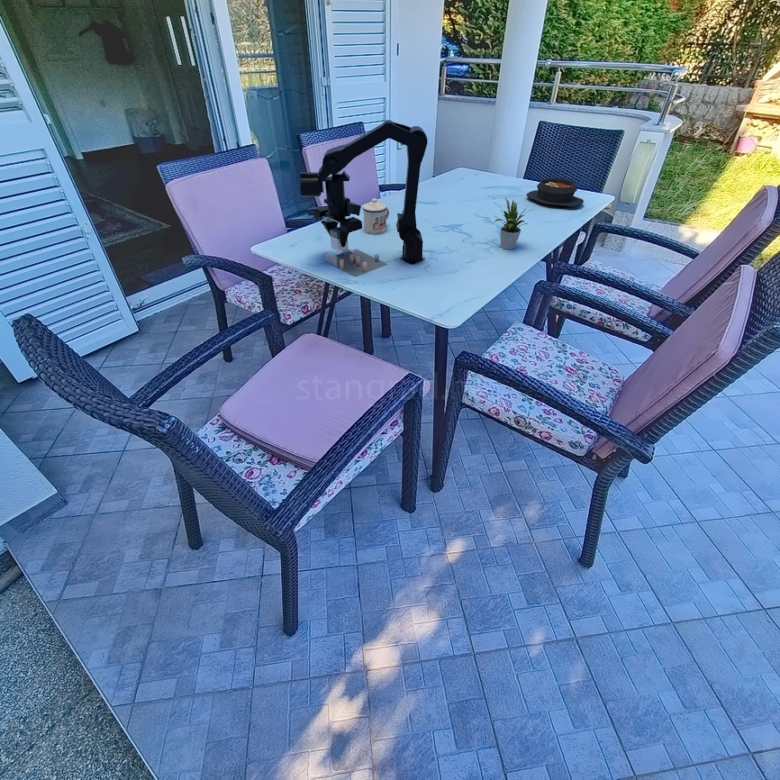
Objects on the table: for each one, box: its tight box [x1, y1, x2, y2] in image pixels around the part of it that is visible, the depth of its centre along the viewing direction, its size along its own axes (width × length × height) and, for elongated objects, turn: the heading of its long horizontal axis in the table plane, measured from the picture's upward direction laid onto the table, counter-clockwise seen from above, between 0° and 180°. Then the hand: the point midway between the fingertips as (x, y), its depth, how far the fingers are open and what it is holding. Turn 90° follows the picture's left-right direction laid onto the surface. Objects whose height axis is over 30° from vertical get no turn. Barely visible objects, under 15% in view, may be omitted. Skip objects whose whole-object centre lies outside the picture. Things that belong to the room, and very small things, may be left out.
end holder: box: [324, 247, 355, 268], centre depth 150 cm, size 7×8×3 cm
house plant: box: [493, 197, 534, 250], centre depth 157 cm, size 14×14×16 cm
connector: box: [329, 226, 349, 252], centre depth 146 cm, size 4×4×6 cm
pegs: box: [339, 254, 380, 273], centre depth 147 cm, size 9×14×3 cm, turn 132°
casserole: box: [526, 177, 584, 207], centre depth 196 cm, size 25×19×8 cm
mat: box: [324, 248, 388, 278], centre depth 150 cm, size 17×14×1 cm
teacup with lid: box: [362, 198, 390, 235], centre depth 171 cm, size 12×9×12 cm
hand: (339, 244), depth 148 cm, fingers closed on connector, 4 cm apart
